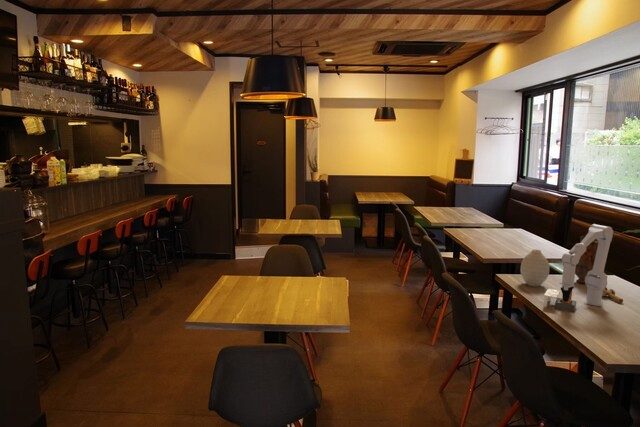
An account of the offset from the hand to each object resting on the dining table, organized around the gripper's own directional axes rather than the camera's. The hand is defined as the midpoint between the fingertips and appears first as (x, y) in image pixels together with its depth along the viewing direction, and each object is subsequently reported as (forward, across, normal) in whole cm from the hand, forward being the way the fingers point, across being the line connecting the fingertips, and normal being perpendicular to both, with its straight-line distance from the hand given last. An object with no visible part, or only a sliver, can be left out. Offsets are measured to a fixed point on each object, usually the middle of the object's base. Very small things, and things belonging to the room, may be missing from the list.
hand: (566, 299), depth 255 cm
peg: (+2, 0, 0) cm, 3 cm away
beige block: (+4, 0, -7) cm, 8 cm away
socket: (+4, 0, 0) cm, 4 cm away
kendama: (+5, -34, +19) cm, 40 cm away
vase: (+5, -35, -22) cm, 42 cm away
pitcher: (+5, -59, +5) cm, 59 cm away
